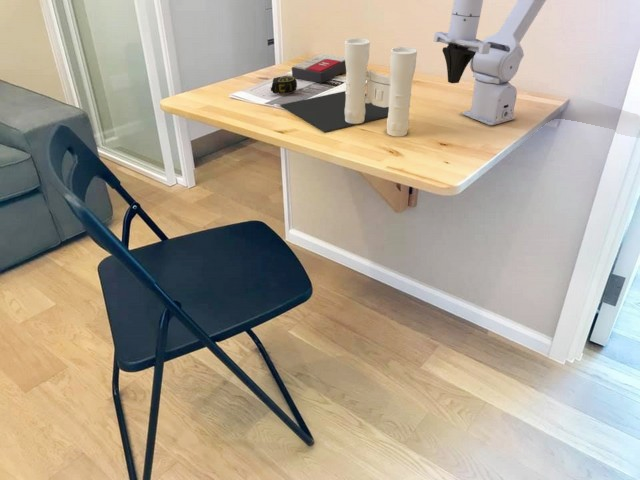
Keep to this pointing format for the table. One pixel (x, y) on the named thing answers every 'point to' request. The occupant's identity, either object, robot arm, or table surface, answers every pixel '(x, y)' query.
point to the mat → (331, 111)
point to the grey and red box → (319, 68)
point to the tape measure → (284, 84)
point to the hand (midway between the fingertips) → (453, 82)
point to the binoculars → (379, 85)
